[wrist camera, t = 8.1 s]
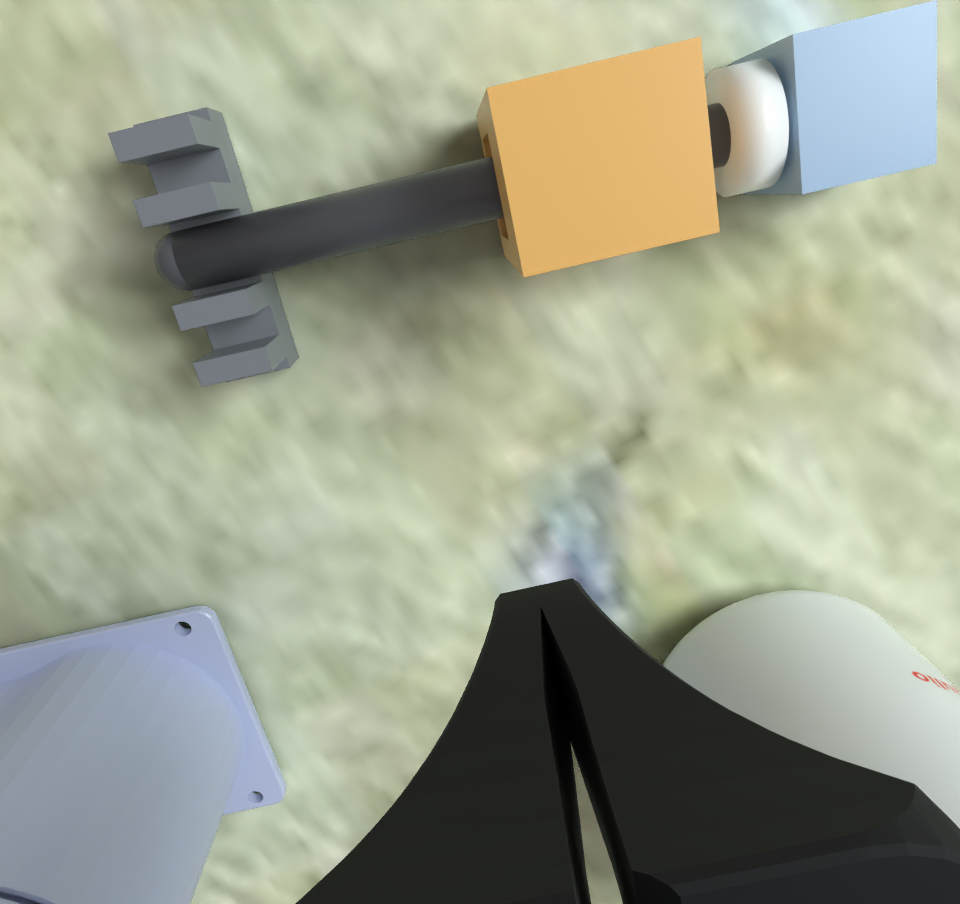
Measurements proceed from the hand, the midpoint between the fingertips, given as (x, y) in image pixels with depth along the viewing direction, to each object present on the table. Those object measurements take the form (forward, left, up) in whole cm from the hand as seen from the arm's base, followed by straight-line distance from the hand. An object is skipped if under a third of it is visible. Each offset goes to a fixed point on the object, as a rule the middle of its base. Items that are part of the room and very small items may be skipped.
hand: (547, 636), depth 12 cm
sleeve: (+3, +7, -10) cm, 13 cm away
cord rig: (+1, +7, -10) cm, 12 cm away
